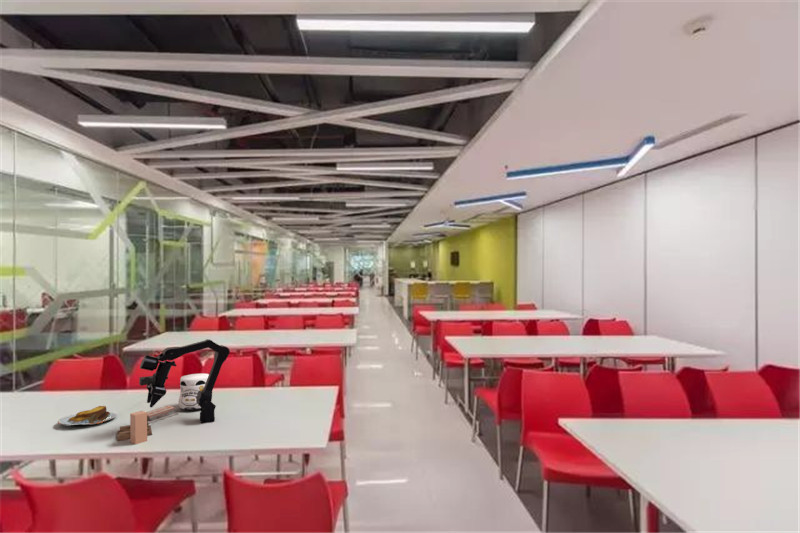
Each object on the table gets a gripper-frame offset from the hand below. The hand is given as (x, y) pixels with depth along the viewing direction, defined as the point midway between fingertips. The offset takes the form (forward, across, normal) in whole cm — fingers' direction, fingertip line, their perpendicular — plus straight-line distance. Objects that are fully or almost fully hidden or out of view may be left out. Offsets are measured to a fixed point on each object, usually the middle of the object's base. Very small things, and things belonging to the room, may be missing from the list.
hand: (149, 405), depth 215 cm
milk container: (+3, -28, +30) cm, 41 cm away
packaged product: (+11, -22, +11) cm, 27 cm away
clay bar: (+14, +10, 0) cm, 18 cm away
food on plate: (+21, -39, -17) cm, 47 cm away
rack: (+14, -2, -1) cm, 15 cm away
